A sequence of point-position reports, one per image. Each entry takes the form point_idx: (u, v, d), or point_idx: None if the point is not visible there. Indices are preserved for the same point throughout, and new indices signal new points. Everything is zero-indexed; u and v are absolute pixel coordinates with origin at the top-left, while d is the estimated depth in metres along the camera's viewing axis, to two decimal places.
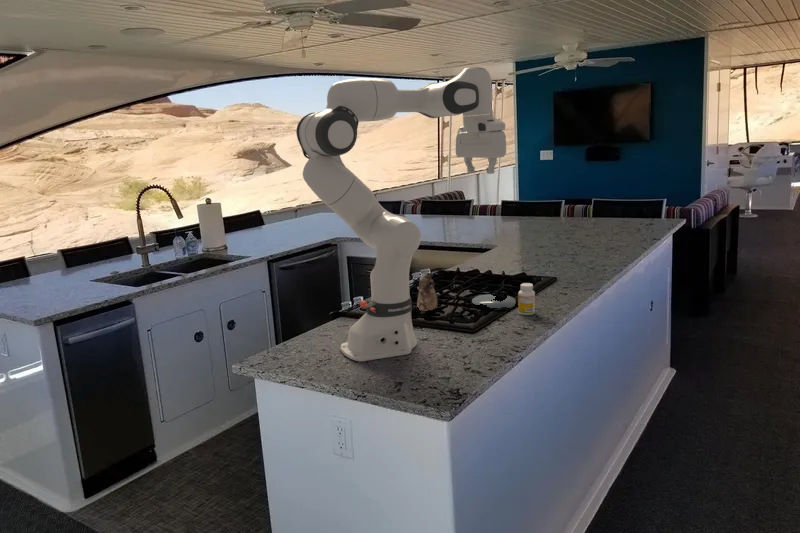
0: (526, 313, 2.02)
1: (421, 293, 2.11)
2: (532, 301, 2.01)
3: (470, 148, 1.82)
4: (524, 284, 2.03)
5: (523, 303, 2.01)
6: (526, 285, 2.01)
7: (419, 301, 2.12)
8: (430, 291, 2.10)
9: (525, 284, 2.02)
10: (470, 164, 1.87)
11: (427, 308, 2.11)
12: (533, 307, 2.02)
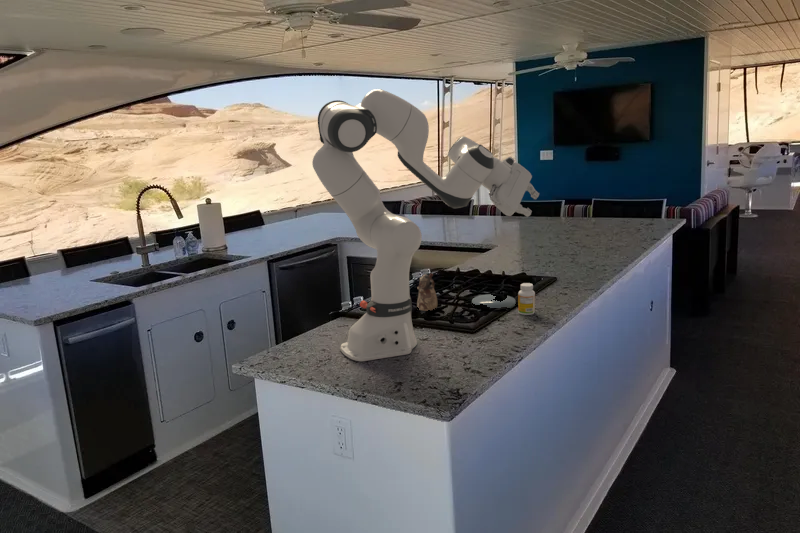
0: (526, 313, 2.02)
1: (421, 293, 2.11)
2: (532, 301, 2.01)
3: (516, 190, 1.80)
4: (524, 284, 2.03)
5: (523, 303, 2.01)
6: (526, 285, 2.01)
7: (419, 301, 2.12)
8: (430, 291, 2.10)
9: (525, 284, 2.02)
10: None
11: (427, 308, 2.11)
12: (533, 307, 2.02)
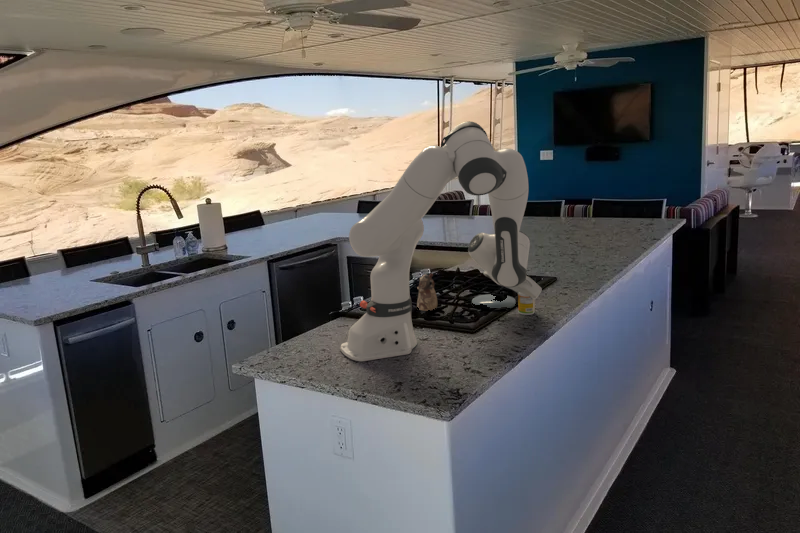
0: (526, 313, 2.02)
1: (421, 293, 2.11)
2: (532, 301, 2.01)
3: None
4: None
5: (523, 303, 2.01)
6: None
7: (419, 301, 2.12)
8: (430, 291, 2.10)
9: None
10: None
11: (427, 308, 2.11)
12: (533, 307, 2.02)
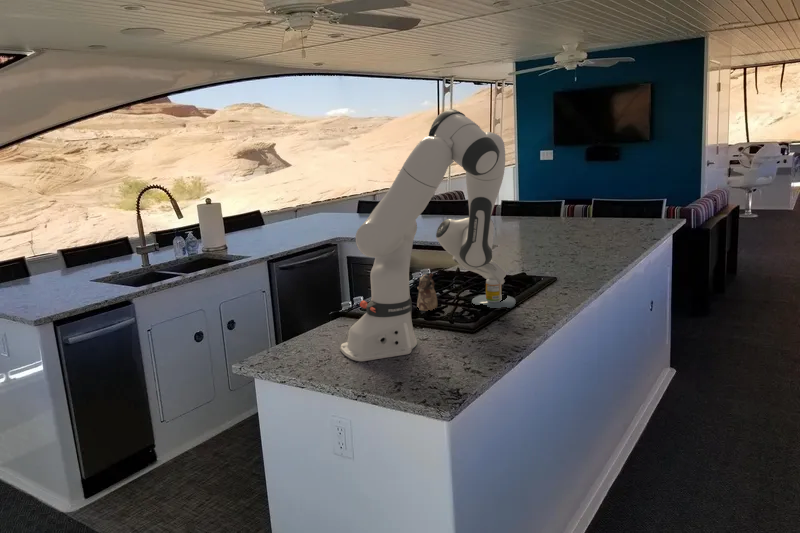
0: (493, 300, 2.12)
1: (421, 293, 2.11)
2: (498, 289, 2.12)
3: None
4: None
5: (490, 291, 2.12)
6: None
7: (419, 301, 2.12)
8: (430, 291, 2.10)
9: None
10: None
11: (427, 308, 2.11)
12: (499, 295, 2.13)
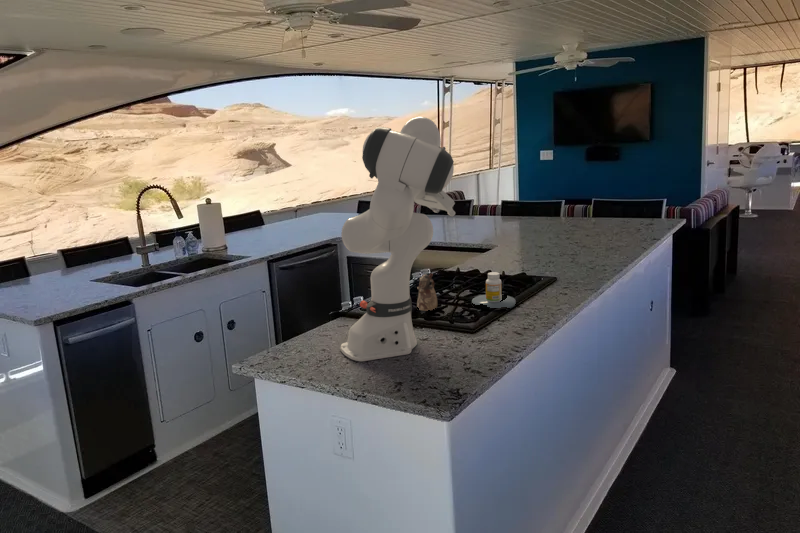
0: (493, 300, 2.12)
1: (421, 293, 2.11)
2: (498, 289, 2.12)
3: None
4: (491, 273, 2.13)
5: (490, 291, 2.12)
6: (493, 274, 2.12)
7: (419, 301, 2.12)
8: (430, 291, 2.10)
9: (492, 273, 2.13)
10: None
11: (427, 308, 2.11)
12: (499, 295, 2.13)
